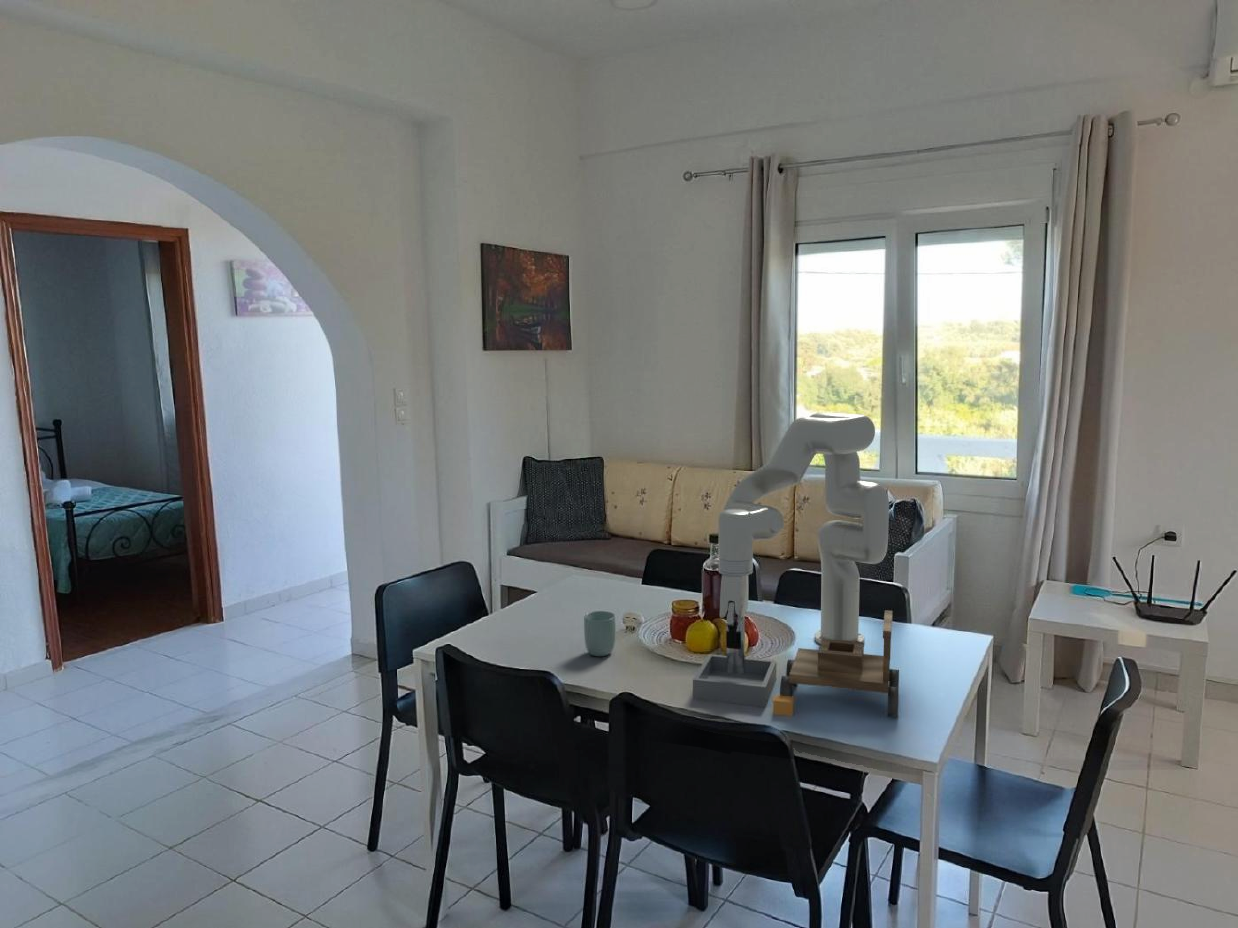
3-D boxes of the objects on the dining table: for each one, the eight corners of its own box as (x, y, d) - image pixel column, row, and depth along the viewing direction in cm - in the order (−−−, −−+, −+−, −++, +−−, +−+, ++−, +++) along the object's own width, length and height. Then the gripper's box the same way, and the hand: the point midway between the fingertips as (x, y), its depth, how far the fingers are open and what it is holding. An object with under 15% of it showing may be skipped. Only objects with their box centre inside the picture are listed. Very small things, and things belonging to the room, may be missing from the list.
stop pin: (728, 666, 200) (728, 615, 199) (746, 668, 199) (746, 617, 197) (725, 673, 197) (725, 621, 195) (742, 674, 195) (742, 622, 194)
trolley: (789, 680, 203) (790, 601, 200) (898, 691, 195) (900, 610, 192) (779, 708, 188) (780, 623, 185) (897, 721, 180) (899, 633, 177)
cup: (595, 646, 228) (594, 609, 226) (621, 651, 224) (620, 613, 222) (579, 655, 221) (578, 617, 219) (605, 661, 217) (604, 622, 215)
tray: (708, 672, 208) (708, 654, 208) (776, 679, 204) (776, 660, 203) (692, 698, 193) (692, 679, 193) (765, 707, 188) (765, 687, 188)
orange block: (775, 708, 188) (775, 694, 187) (794, 710, 187) (794, 696, 186) (773, 713, 185) (773, 700, 185) (792, 716, 184) (792, 702, 183)
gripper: (726, 555, 203) (726, 631, 206) (710, 574, 188) (711, 656, 190) (758, 557, 201) (758, 634, 204) (745, 576, 185) (745, 659, 188)
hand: (735, 643), depth 197 cm, fingers closed on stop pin, 4 cm apart
